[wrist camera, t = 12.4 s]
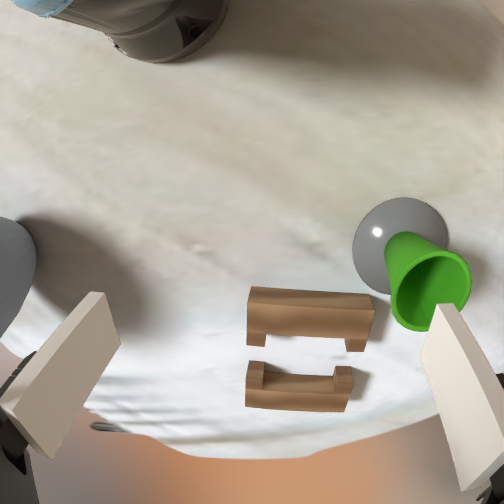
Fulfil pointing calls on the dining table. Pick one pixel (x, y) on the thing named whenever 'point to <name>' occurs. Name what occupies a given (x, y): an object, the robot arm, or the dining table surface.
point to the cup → (423, 279)
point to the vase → (14, 269)
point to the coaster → (384, 227)
